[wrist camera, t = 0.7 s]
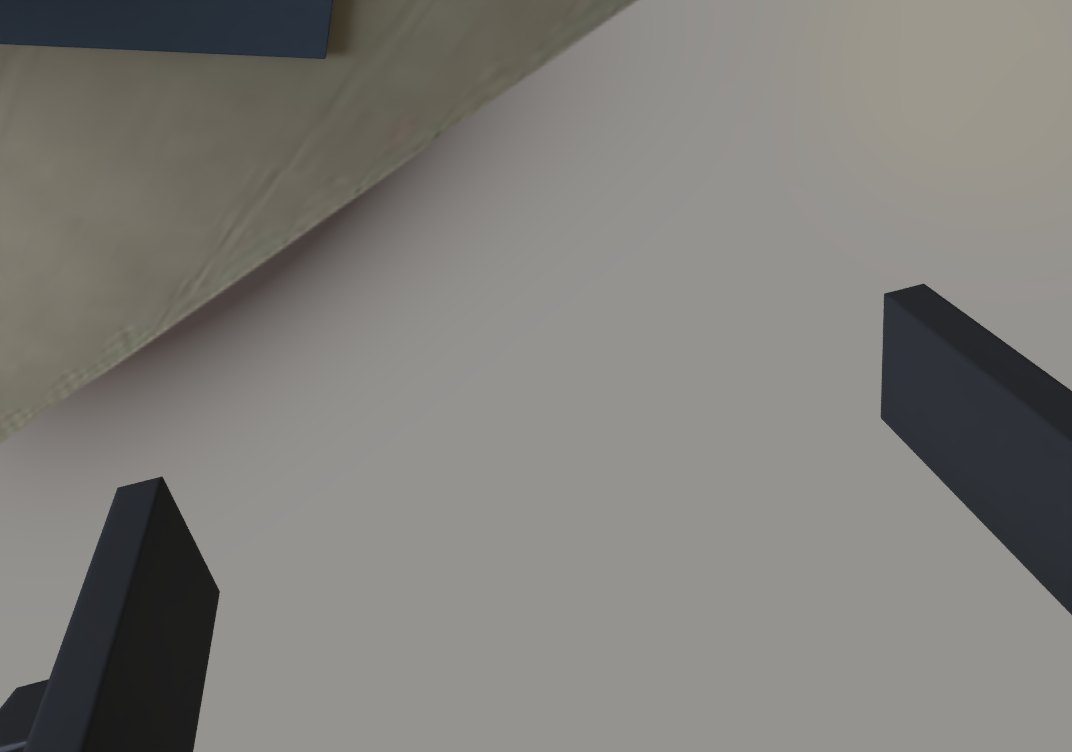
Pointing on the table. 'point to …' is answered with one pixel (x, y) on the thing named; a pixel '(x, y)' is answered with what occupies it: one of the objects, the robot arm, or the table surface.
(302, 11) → the desk mat
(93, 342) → the table surface
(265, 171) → the table surface
